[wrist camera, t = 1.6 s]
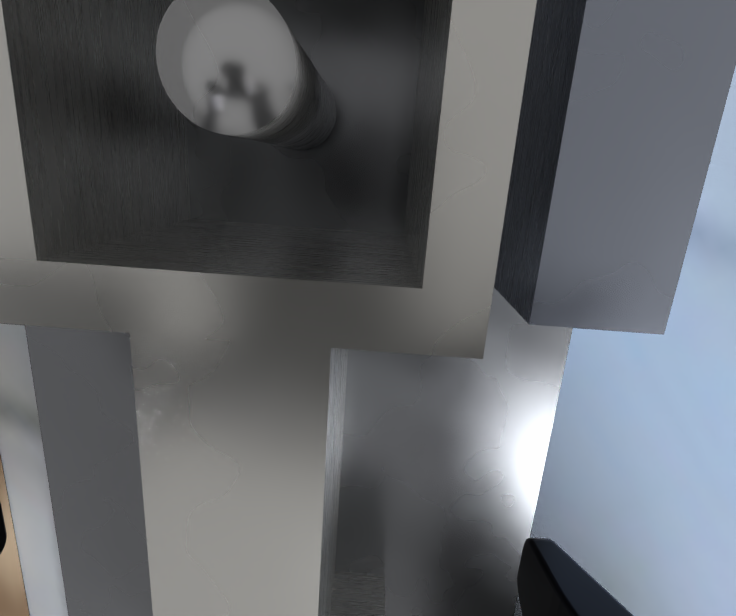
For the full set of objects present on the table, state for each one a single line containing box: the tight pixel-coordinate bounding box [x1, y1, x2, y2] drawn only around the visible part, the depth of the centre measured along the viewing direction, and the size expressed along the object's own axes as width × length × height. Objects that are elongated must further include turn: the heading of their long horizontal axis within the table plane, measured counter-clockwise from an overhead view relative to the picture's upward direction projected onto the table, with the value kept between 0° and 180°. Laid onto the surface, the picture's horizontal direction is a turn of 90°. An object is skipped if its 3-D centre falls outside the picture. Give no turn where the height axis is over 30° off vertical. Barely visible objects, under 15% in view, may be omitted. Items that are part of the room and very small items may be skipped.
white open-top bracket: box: [0, 0, 537, 616], centre depth 9 cm, size 18×6×4 cm, turn 176°
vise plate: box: [25, 0, 736, 616], centre depth 9 cm, size 20×12×6 cm, turn 176°
